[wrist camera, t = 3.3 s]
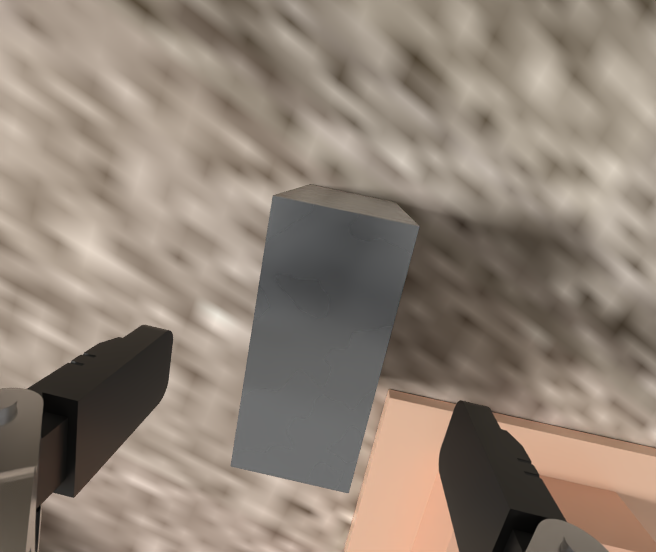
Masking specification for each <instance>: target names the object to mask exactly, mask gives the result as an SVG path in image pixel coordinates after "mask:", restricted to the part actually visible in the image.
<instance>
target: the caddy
mask: <svg viewBox="0 0 656 552" xmlns="http://www.w3.org/2000/svg"><path fill="white" fill-rule="evenodd" d="M455 406H456V404H453V403H449V402H444V401H440V400H435V399H431V398H426V397H422V396H417V395H413V394H408V393H404V392H399V391H395V390H390V389H388V393H387V397H386V400H385V404H384V407H383V411H382V415H381V418H380V422H379V426H378V429H377V433H376V436H375V440H374V444H373V447H372V451H371V455H370V458H369V462H368V465H367V469H366V473H365V476H364V480H363V483H362V487H361V491H360V494H359V498H358V502H357V505H356V509H355V512H354V516H353V520H352V523H351V527H350V531H349V534H348V538H347V541H346V545H345V549H344V552H459V549H458V545H457V541H456V537H455V533H454V529H453V526H452V522H451V518H450V514H449V510H448V506H447V502H446V498H445V494H444V490H443V486H442V482H441V478H440V474H439V454H440V449H441V446H442V443H443V440H444V437H445V434H446V431H447V428H448V425H449V422H450V419H451V416H452V414H453V411H454V408H455ZM492 413H493V415H494V417H495V418H496V420H497V422H498V424H499V426H500V428H501V429H503V430H507V431H508V432H509V433H510V434H511V435H512V436H513V437H514V438H515V439H516V440H517V441H518V442H519V443H520V444H521V445H522V446H523V447H524V449H525V451H526V453H527V454H528V456H529V458H530V459H531V461H532V462H531V464H533V465H534V466H535V468H536V470H537V471H538V473H539V478H542V480H543V482H544V483H545V485H546V487H547V489H548V490H549V492H550V494H551V495H552V497H553V499H554V500H555V502H556V504H557V506H558V507H559V509H560V511H561V512H562V514H563V516H564V518H565V519H566V521H567V522H568V523H570V524H572V525H574V526H577V527H578V528H580V529H582V530H583V531H585V532H587V533H588V534H589V535H591V536H592V537H594V538H595V539H596V540H597V541H599V542H600V543H601V544H602V545H603V546H604V547H605V548H606V549H607V550H608V551H609V552H656V448H652V447H647V446H643V445H638V444H634V443H629V442H625V441H620V440H616V439H611V438H607V437H602V436H598V435H593V434H589V433H584V432H580V431H575V430H571V429H566V428H562V427H557V426H552V425H548V424H543V423H539V422H534V421H530V420H525V419H521V418H516V417H512V416H507V415H503V414H498V413H494V412H492Z"/></svg>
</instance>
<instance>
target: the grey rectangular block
mask: <svg viewBox="0 0 656 552" xmlns="http://www.w3.org/2000/svg"><path fill="white" fill-rule="evenodd" d="M419 227H420V226H419V225H418V224H417V223H416V222H415V221H414V220H413V219H412V218H411V217H410V216H409V215H408V214H407V213H406V212H405V211H404V210H403V209H402V208H401V207H399V206H398V205H397V204H396V203H395V202H393V201H388V200H383V199H378V198H374V197H369V196H364V195H359V194H354V193H350V192H345V191H340V190H335V189H331V188H326V187H321V186H316V185H311V184H310V185H306V186H303V187H300V188H296V189H293V190H290V191H286V192H283V193H280V194H276V195H273V198H272V204H271V211H270V217H269V223H268V230H267V236H266V243H265V249H264V255H263V262H262V268H261V275H260V281H259V287H258V294H257V300H256V307H255V313H254V320H253V326H252V332H251V339H250V345H249V352H248V358H247V364H246V371H245V377H244V384H243V390H242V397H241V403H240V409H239V416H238V422H237V429H236V435H235V441H234V448H233V454H232V461H231V466H232V467H236V468H240V469H245V470H249V471H253V472H258V473H262V474H266V475H271V476H275V477H280V478H284V479H288V480H293V481H297V482H301V483H306V484H310V485H314V486H319V487H323V488H327V489H332V490H336V491H341V492H345V493H349V490H350V486H351V482H352V479H353V475H354V471H355V467H356V464H357V460H358V456H359V452H360V449H361V445H362V441H363V437H364V434H365V430H366V426H367V422H368V418H369V415H370V411H371V407H372V403H373V400H374V396H375V392H376V388H377V385H378V381H379V377H380V373H381V370H382V366H383V362H384V358H385V355H386V351H387V347H388V343H389V339H390V336H391V332H392V328H393V324H394V321H395V317H396V313H397V309H398V306H399V302H400V298H401V294H402V291H403V287H404V283H405V279H406V276H407V272H408V268H409V264H410V260H411V257H412V253H413V249H414V245H415V242H416V238H417V234H418V230H419Z"/></svg>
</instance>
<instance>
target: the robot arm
mask: <svg viewBox="0 0 656 552" xmlns="http://www.w3.org/2000/svg"><path fill="white" fill-rule="evenodd" d="M172 344H173V334H172V332H171V331H169V330H165V329H161V328H157V327H152V326H148V325H142V326H140V327H138V328H137V329H135V330H134V331H133V332H131V333H130V334H128V335H127V336H125V337H124V338H120V337H118V338H114V339H111V340H108V341H105V342H102V343H99V344H97V345H95V346H94V347H92V348H91V349H89V350H88V351H86V352H84V354H83V355H80V356H78V357H76V358H75V359H73V360H72V361H71V363H67V364H65V365H64V366H62V367H61V368H59V369H58V370H56V371H54V372H53V373H51V374H50V375H48V376H47V377H45V378H43V379H42V380H40V381H39V382H37V383H35V384H34V385H32V386H31V387H29V388H28V389H22V388H2V389H0V552H39V541H40V528H41V515H42V503H43V502H44V501H45V500H46V499H47V498H48V497H49V496H50V495H51V494H52V493H57V494H61V495H65V496H69V497H73V498H74V497H75V496H76V495H77V494H78V493H79V492H80V491H81V489H82V488H83V487H84V486H85V485H86V484H87V483H88V482H89V481H90V479H91V478H92V477H93V476H94V475H95V474H96V473H97V472H98V471H99V469H100V468H101V467H102V466H103V465H104V464H105V463H106V462H107V461H108V459H109V458H110V457H111V456H112V455H113V454H114V453H115V452H116V451H117V449H118V448H119V447H120V446H121V445H122V444H123V443H124V442H125V441H126V439H127V438H128V437H129V436H130V435H131V434H132V433H133V432H134V431H135V429H136V428H137V427H138V426H139V425H140V424H141V423H142V422H143V421H144V419H145V418H146V417H147V416H148V415H149V414H150V413H151V412H152V411H153V409H154V408H155V407H156V406H157V405H158V404H159V403H160V401H161V399H162V398H163V396H164V394H165V391H166V388H167V385H168V380H169V371H170V362H171V353H172ZM531 462H532V461H531V459H530V458H529V456H528V454H527V453H526V451H525V449H524V447H523V446H522V445H521V444H520V443H519V442H518V441H517V440H516V439H515V438H514V437H513V436H512V435H511V434H510V433H509V432H508V431H507V430H503V429H501V428H500V426H499V424H498V422H497V420H496V418H495V417H494V415H493V413H492V411H491V409H490V408H489V407H487V406H483V405H478V404H474V403H470V402H466V401H462V400H460V401H458V402H457V404H456V406H455V408H454V411H453V414H452V416H451V419H450V422H449V425H448V428H447V431H446V434H445V437H444V440H443V443H442V446H441V449H440V454H439V474H440V478H441V482H442V486H443V490H444V494H445V498H446V502H447V506H448V510H449V514H450V518H451V522H452V526H453V529H454V533H455V537H456V541H457V545H458V549H459V552H609V551H608V550H607V549H606V548H605V547H604V546H603V545H602V544H601V543H600V542H599V541H597V540H596V539H595V538H594V537H592V536H591V535H589V534H588V533H587V532H585V531H583V530H582V529H580V528H578V527H577V526H574V525H572V524H570V523H568V522H567V521H566V519H565V518H564V516H563V514H562V512H561V511H560V509H559V507H558V506H557V504H556V502H555V500H554V499H553V497H552V495H551V494H550V492H549V490H548V489H547V487H546V485H545V483H544V482H543V480H542V478H539V473H538V471H537V470H536V468H535V466H534V465H533V464H531Z"/></svg>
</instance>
